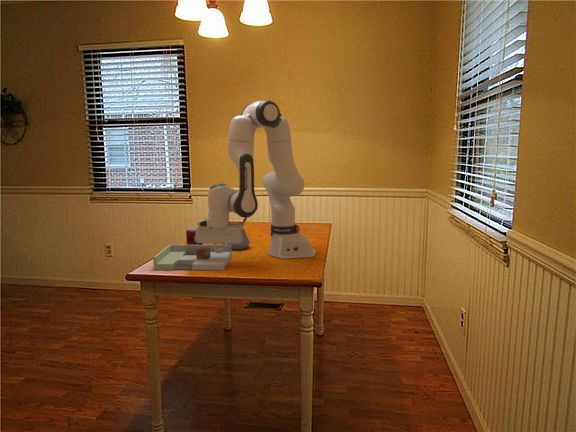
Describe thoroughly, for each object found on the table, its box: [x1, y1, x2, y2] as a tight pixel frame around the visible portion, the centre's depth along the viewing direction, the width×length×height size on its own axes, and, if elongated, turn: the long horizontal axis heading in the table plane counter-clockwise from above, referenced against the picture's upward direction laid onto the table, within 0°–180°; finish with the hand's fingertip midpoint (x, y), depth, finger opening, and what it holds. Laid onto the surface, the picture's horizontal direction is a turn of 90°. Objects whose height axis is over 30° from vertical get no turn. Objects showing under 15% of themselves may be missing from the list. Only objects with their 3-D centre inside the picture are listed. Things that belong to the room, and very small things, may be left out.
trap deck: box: [152, 244, 233, 271], centre depth 175 cm, size 29×21×6 cm
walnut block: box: [196, 247, 211, 259], centre depth 175 cm, size 5×5×4 cm
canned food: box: [185, 226, 204, 245], centre depth 196 cm, size 8×8×11 cm
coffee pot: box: [226, 217, 250, 251], centre depth 204 cm, size 21×12×15 cm, turn 164°
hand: (219, 252), depth 174 cm, fingers closed
